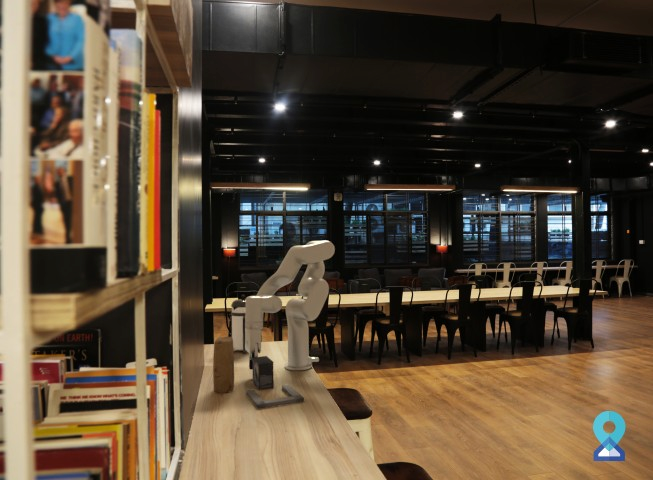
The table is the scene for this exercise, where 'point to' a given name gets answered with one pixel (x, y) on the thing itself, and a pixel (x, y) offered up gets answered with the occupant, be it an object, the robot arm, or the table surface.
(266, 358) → the small box
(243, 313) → the coffee press
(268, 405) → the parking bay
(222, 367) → the block
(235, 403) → the table surface
